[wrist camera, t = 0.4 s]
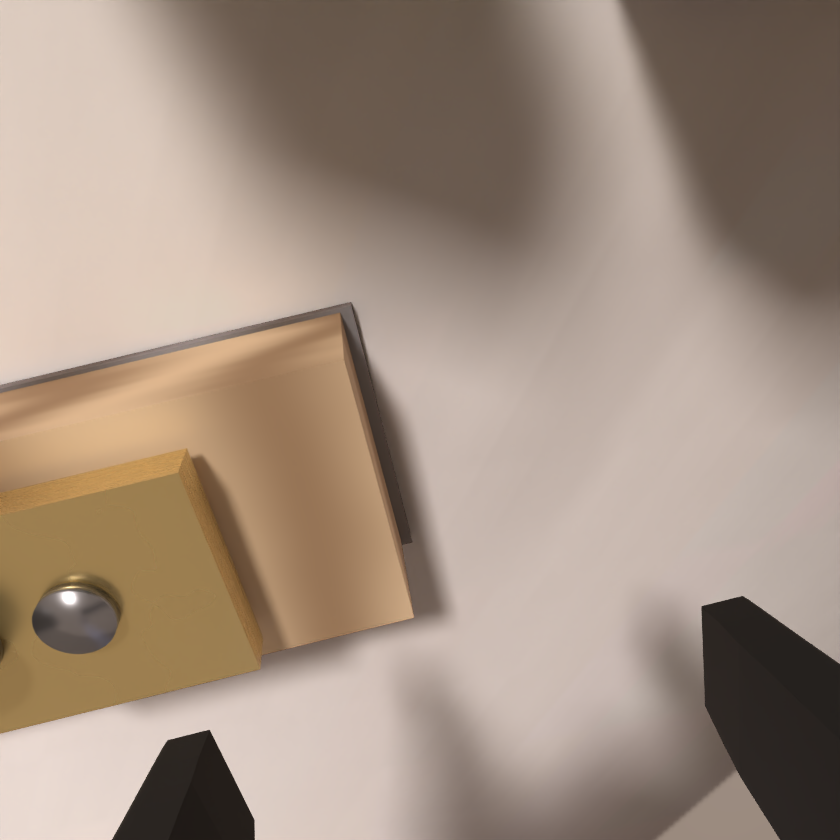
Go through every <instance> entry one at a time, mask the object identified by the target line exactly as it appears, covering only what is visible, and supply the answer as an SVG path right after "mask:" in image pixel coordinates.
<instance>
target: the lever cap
mask: <svg viewBox="0 0 840 840" xmlns="http://www.w3.org/2000/svg"><path fill="white" fill-rule="evenodd" d="M262 646H263V636H262V633H261V631H260V628H259V626H258V623H257V621H256V618H255V616H254V613H253V611H252V608H251V606H250V603H249V601H248V598H247V596H246V593H245V591H244V588H243V586H242V584H241V581H240V579H239V576H238V574H237V571H236V569H235V566H234V564H233V561H232V559H231V556H230V554H229V551H228V549H227V546H226V544H225V541H224V539H223V536H222V534H221V532H220V529H219V527H218V524H217V522H216V519H215V517H214V514H213V512H212V509H211V507H210V504H209V502H208V499H207V497H206V494H205V492H204V489H203V487H202V484H201V482H200V480H199V477H198V475H197V472H196V470H195V467H194V465H193V462H192V460H191V457H190V455H189V452H188V450H187V448H185V449H181V450H177V451H173V452H169V453H164V454H160V455H156V456H152V457H148V458H144V459H139V460H135V461H131V462H127V463H123V464H119V465H114V466H110V467H106V468H102V469H98V470H94V471H89V472H85V473H81V474H77V475H73V476H69V477H64V478H60V479H56V480H52V481H48V482H44V483H39V484H35V485H31V486H27V487H23V488H19V489H14V490H10V491H6V492H2V493H0V733H4V732H9V731H13V730H17V729H21V728H25V727H29V726H33V725H37V724H41V723H45V722H49V721H53V720H57V719H61V718H65V717H69V716H73V715H77V714H81V713H85V712H89V711H93V710H98V709H102V708H106V707H110V706H114V705H118V704H122V703H126V702H130V701H134V700H138V699H142V698H146V697H150V696H154V695H158V694H162V693H166V692H170V691H174V690H178V689H182V688H187V687H191V686H195V685H199V684H203V683H207V682H211V681H215V680H219V679H223V678H227V677H231V676H235V675H239V674H243V673H247V672H251V671H255V670H259V669H260V666H261V656H262Z"/></svg>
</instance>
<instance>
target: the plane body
mask: <svg viewBox="0 0 840 840" xmlns="http://www.w3.org/2000/svg"><path fill="white" fill-rule="evenodd" d="M185 448H187V450H188V452H189V455H190V457H191V460H192V462H193V465H194V467H195V470H196V472H197V475H198V477H199V480H200V482H201V484H202V487H203V489H204V492H205V494H206V497H207V499H208V502H209V504H210V507H211V509H212V512H213V514H214V517H215V519H216V522H217V524H218V527H219V529H220V532H221V534H222V536H223V539H224V541H225V544H226V546H227V549H228V551H229V554H230V556H231V559H232V561H233V564H234V566H235V569H236V571H237V574H238V576H239V579H240V581H241V584H242V586H243V588H244V591H245V593H246V596H247V598H248V601H249V603H250V606H251V608H252V611H253V613H254V616H255V618H256V621H257V623H258V626H259V628H260V631H261V633H262V636H263V646H262V655H265V654H269V653H273V652H277V651H281V650H285V649H289V648H293V647H297V646H301V645H305V644H309V643H313V642H318V641H322V640H326V639H330V638H334V637H338V636H342V635H346V634H350V633H354V632H358V631H362V630H366V629H370V628H374V627H378V626H382V625H386V624H390V623H395V622H399V621H403V620H407V619H411V618H414V613H413V608H412V602H411V596H410V590H409V584H408V579H407V573H406V567H405V561H404V555H403V549H402V545H403V544H407V543H411V542H412V539H411V535H410V531H409V527H408V523H407V519H406V515H405V511H404V507H403V503H402V500H401V496H400V492H399V488H398V484H397V480H396V476H395V472H394V468H393V465H392V461H391V457H390V453H389V449H388V445H387V441H386V437H385V433H384V430H383V426H382V422H381V418H380V414H379V410H378V406H377V402H376V399H375V395H374V391H373V387H372V383H371V379H370V375H369V371H368V367H367V364H366V360H365V356H364V352H363V348H362V344H361V340H360V336H359V332H358V329H357V325H356V321H355V317H354V313H353V309H352V305H351V302H350V303H345V304H341V305H337V306H333V307H328V308H324V309H320V310H316V311H312V312H307V313H303V314H299V315H295V316H290V317H286V318H282V319H278V320H274V321H269V322H265V323H261V324H257V325H252V326H248V327H244V328H240V329H236V330H231V331H227V332H223V333H219V334H214V335H210V336H206V337H202V338H198V339H193V340H189V341H185V342H181V343H176V344H172V345H168V346H164V347H160V348H155V349H151V350H147V351H143V352H138V353H134V354H130V355H126V356H122V357H117V358H113V359H109V360H105V361H100V362H96V363H92V364H88V365H84V366H79V367H75V368H71V369H67V370H62V371H58V372H54V373H50V374H46V375H41V376H37V377H33V378H29V379H24V380H20V381H16V382H12V383H7V384H3V385H0V493H2V492H6V491H10V490H14V489H19V488H23V487H27V486H31V485H35V484H39V483H44V482H48V481H52V480H56V479H60V478H64V477H69V476H73V475H77V474H81V473H85V472H89V471H94V470H98V469H102V468H106V467H110V466H114V465H119V464H123V463H127V462H131V461H135V460H139V459H144V458H148V457H152V456H156V455H160V454H164V453H169V452H173V451H177V450H181V449H185Z"/></svg>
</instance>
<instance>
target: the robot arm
mask: <svg viewBox="0 0 840 840" xmlns="http://www.w3.org/2000/svg"><path fill="white" fill-rule="evenodd" d="M702 633H703V660H704V687H705V706H706V708H707V711H708V713H709V715H710V717H711V719H712V721H713V723H714V725H715V727H716V729H717V731H718V733H719V735H720V737H721V739H722V742H723V744H724V746H725V748H726V749H727V751H728V753H729V755H730V757H731V759H732V761H733V763H734V765H735V767H736V769H737V771H738V773H739V775H740V777H741V778H742V780H743V781H744V783H745V785H746V786H747V788H748V790H749V791H750V793H751V794H752V796H753V797H754V799H755V801H756V802H757V804H758V805H759V807H760V809H761V810H762V812H763V813H764V815H765V816H766V818H767V820H768V821H769V823H770V824H771V826H772V828H773V829H774V831H775V832H776V834H777V835H778V837H779V839H780V840H840V664H839V663H838V662H836V661H835V660H833V659H832V658H830V657H829V656H828V655H826V654H825V653H823V652H822V651H820V650H819V649H817V648H816V647H815V646H813V645H812V644H810V643H809V642H807V641H806V640H805V639H803V638H802V637H800V636H799V635H798V634H796V633H795V632H793V631H792V630H791V629H789V628H788V627H786V626H785V625H784V624H782V623H781V622H779V621H778V620H777V619H775V618H774V617H772V616H771V615H770V614H768V613H767V612H765V611H764V610H763V609H761V608H760V607H758V606H757V605H755V604H754V603H753V602H751V601H750V600H748V599H747V598H745V597H743V596H741V597H737V598H733V599H729V600H725V601H721V602H717V603H713V604H709V605H705V606H702ZM112 840H255V830H254V818H253V816H252V814H251V812H250V810H249V808H248V806H247V804H246V802H245V800H244V798H243V796H242V794H241V792H240V790H239V788H238V786H237V784H236V782H235V780H234V778H233V776H232V774H231V772H230V770H229V768H228V766H227V764H226V762H225V760H224V758H223V756H222V754H221V752H220V750H219V748H218V746H217V744H216V742H215V740H214V738H213V736H212V734H211V732H210V730H207V731H203V732H199V733H195V734H191V735H187V736H183V737H179V738H175V739H171V740H168V741H167V742H166V744H165V745H164V747H163V748H162V750H161V752H160V754H159V755H158V757H157V759H156V761H155V763H154V764H153V766H152V768H151V770H150V772H149V773H148V775H147V777H146V779H145V781H144V783H143V784H142V786H141V788H140V790H139V792H138V794H137V795H136V797H135V799H134V801H133V803H132V805H131V806H130V808H129V810H128V812H127V814H126V816H125V817H124V819H123V821H122V823H121V825H120V826H119V828H118V830H117V832H116V834H115V835H114V837H113V839H112Z"/></svg>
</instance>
